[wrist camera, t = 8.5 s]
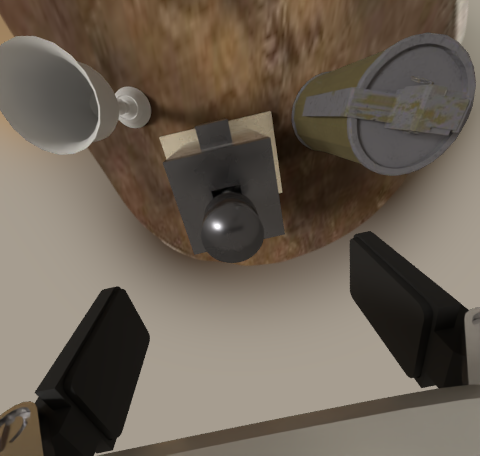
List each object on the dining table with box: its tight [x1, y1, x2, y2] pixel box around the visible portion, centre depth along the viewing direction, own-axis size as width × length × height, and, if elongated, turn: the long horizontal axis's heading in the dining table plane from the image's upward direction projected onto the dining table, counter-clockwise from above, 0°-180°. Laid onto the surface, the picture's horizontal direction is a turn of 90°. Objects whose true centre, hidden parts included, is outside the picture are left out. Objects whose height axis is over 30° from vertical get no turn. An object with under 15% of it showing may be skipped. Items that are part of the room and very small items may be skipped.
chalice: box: [0, 36, 151, 154], centre depth 25 cm, size 7×7×18 cm
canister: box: [292, 33, 476, 176], centre depth 26 cm, size 11×10×20 cm
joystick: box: [159, 111, 285, 254], centre depth 29 cm, size 16×12×17 cm
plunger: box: [201, 184, 264, 263], centre depth 25 cm, size 6×6×22 cm
